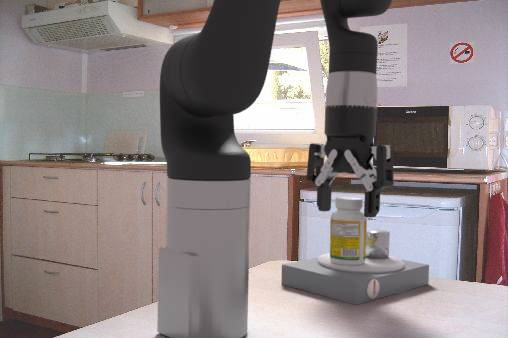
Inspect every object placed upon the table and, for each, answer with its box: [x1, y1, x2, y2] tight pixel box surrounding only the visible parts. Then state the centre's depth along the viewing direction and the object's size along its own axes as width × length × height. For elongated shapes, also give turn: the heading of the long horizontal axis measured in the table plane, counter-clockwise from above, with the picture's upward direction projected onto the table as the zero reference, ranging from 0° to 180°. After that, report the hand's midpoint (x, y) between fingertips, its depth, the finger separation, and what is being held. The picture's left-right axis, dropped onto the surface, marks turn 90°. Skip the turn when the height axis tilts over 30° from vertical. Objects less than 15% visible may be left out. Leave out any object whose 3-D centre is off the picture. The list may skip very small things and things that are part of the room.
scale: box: [281, 252, 430, 306], centre depth 87 cm, size 18×14×4 cm
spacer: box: [366, 229, 391, 259], centre depth 91 cm, size 4×4×4 cm
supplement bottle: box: [329, 196, 368, 265], centre depth 86 cm, size 5×5×10 cm
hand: (346, 213), depth 86 cm, fingers open, 8 cm apart
